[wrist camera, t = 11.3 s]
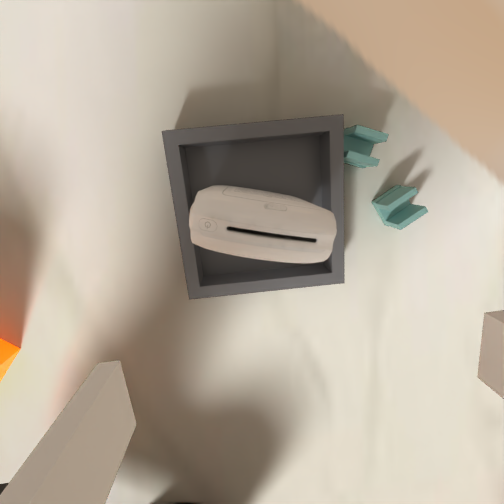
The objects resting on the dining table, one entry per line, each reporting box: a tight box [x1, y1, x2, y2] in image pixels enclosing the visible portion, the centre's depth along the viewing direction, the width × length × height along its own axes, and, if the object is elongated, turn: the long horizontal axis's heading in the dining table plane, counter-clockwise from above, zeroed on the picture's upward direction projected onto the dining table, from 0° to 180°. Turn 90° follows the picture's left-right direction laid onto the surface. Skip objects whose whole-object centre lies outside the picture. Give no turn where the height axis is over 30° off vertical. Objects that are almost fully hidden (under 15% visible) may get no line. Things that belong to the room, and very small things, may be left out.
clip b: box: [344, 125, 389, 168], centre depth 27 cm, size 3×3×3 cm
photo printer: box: [189, 185, 337, 263], centre depth 23 cm, size 10×4×12 cm, turn 81°
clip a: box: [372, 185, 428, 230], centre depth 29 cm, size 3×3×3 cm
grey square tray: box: [162, 114, 344, 299], centre depth 28 cm, size 15×15×4 cm
